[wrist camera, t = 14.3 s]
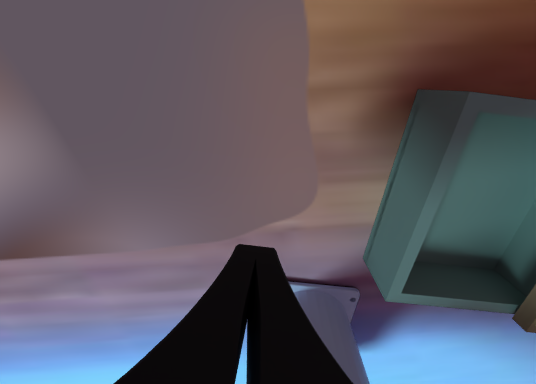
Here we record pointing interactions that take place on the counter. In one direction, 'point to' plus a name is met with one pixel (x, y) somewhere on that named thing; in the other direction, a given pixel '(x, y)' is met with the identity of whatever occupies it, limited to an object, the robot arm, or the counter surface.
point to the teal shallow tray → (460, 205)
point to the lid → (527, 313)
